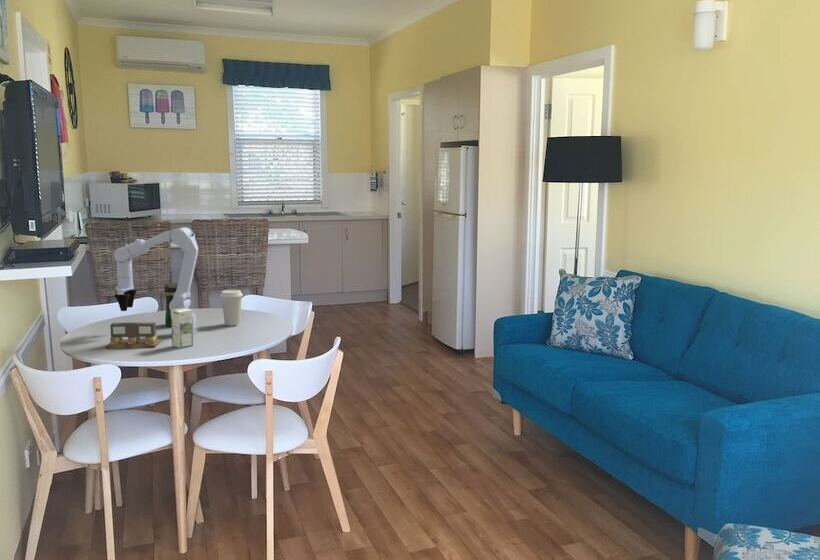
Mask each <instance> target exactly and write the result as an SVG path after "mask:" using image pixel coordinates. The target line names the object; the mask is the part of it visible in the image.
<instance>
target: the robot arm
mask: <svg viewBox="0 0 820 560" xmlns="http://www.w3.org/2000/svg"><path fill="white" fill-rule="evenodd" d="M165 242H167V243H173V244H174V245H176V246H177V247H179V248H180V249H181V251H182V252H183V253H184V255H183V259H182V263H181V269H180V273H179V276H178V281H177V283H178V286H177V290H176V292H175V294H174V296H173V299H172V301H171V302H170V304H169V309H170V311H171V310H174V309H180V308H188V309H190V307H191V305H192V300H191V295H192V294H191V286H192V282H193V277H194V274H195V273H194V272H195V270H196V269H195V268H196V264H197V259H198V254H199V246H198V243H197V241H196V234H195V233H194V231H193V230H192V229H190V228H189V227H187V226H182V227H180V228H174V229H172V230H171V229H170V230H167V231H164V232H162V233H159V234H157V235H155V236H153V237H151V238H149V239H146V240H145V239H141V238H137V239H135V240H134V241H133V242H131V243H125V244H124V246H122V247H118V248H117V249H115V250H114V251H113V258H114V260H115V261H116V274H117V275H116V276H117V286H115V287H114V289H115V290H117V293H115V294H114V298H115V299H116V300H117V303H118V306H119V308H120V309H119V310H120V311H121V312H127V310H128V308H133V307H134V306H133V305H134V301H135V297H136V294H137V292H138V289H135V287H134V282H133V281H134V279H133V265H132V264H133V263H132V262H133V261H132V260H133V259H134V258H137V257H138V256H141V255H143V254H144V255H145V254H146V253H148V252H149V251H150V248H152V247H155V246H156V245H159V244H162V243H165ZM192 329H193V336H194V335H195V334H196V333H197V332H198V331H197V315H196V313H194V312H192ZM169 337H172V332H171V333H170V334H169Z"/></svg>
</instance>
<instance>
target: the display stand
mask: <svg viewBox="0 0 820 560" xmlns="http://www.w3.org/2000/svg"><path fill="white" fill-rule="evenodd" d="M123 338H124V337H111V336H110V338H109V339H110V342H108V344H106V345H105V349H149V348H150V349H151V348H152V349H153V348H154V349H155V348H156V347H157V346H158V345H159V344H160V343H162V338H158V334H157V333H156V335H155V336H154V337H144V338H141V337H127V338H126V339H125V338H124V339H123Z"/></svg>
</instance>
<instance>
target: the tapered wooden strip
mask: <svg viewBox="0 0 820 560" xmlns="http://www.w3.org/2000/svg"><path fill="white" fill-rule="evenodd" d="M156 334H157V325H156V322H155V321H153V322H152V321H151V322H147V321H145V322H112V323H111V324H110V338H111V337H123V338H128V337H140V338H145V337H154V336H155V335H156Z"/></svg>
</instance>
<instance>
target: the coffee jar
mask: <svg viewBox="0 0 820 560" xmlns="http://www.w3.org/2000/svg"><path fill="white" fill-rule="evenodd" d="M177 286H178V282H172V283H165V284H164V290H163V293H164V296H165V300H166V301H165V303H166V304H165V315H164V317H165V318H164V319H165V320H164V321H165V325H166V326H167V327H171V311H170V309H169V304H170V302H171V301H172V299H173V296H174V294H175V292H176V290H177Z"/></svg>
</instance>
